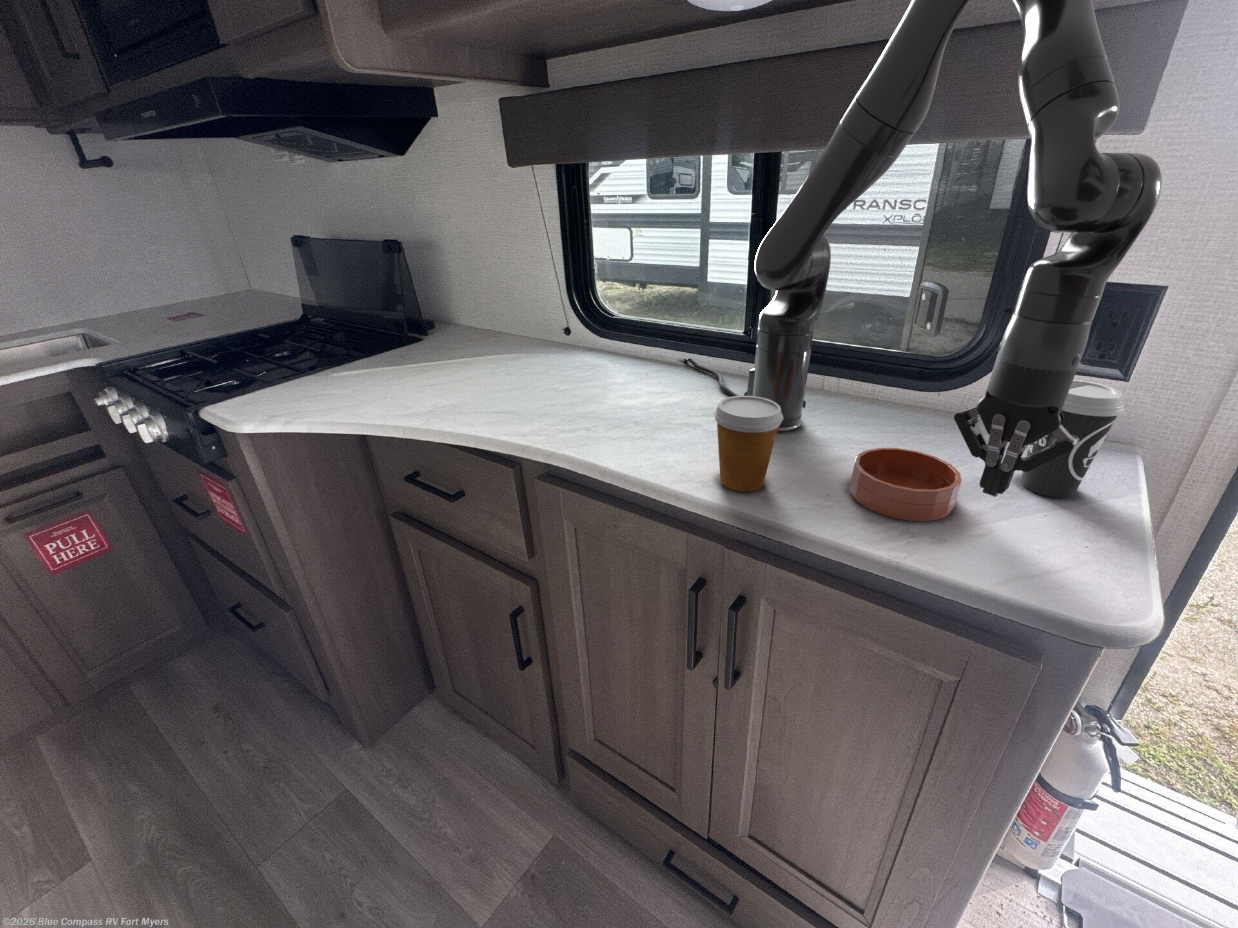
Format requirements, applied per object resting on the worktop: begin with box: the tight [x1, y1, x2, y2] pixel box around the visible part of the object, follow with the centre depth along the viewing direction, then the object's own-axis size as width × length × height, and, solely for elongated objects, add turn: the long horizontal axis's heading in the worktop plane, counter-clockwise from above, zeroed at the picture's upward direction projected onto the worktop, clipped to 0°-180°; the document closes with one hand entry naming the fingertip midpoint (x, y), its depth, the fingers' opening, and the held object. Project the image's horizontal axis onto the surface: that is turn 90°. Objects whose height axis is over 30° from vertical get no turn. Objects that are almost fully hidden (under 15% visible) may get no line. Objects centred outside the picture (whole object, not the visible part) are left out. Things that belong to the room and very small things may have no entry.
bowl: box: [849, 447, 962, 522], centre depth 79 cm, size 13×13×4 cm
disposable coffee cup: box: [713, 395, 783, 493], centre depth 81 cm, size 10×10×12 cm
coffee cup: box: [1020, 379, 1126, 499], centre depth 78 cm, size 10×10×15 cm
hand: (991, 492), depth 71 cm, fingers closed
